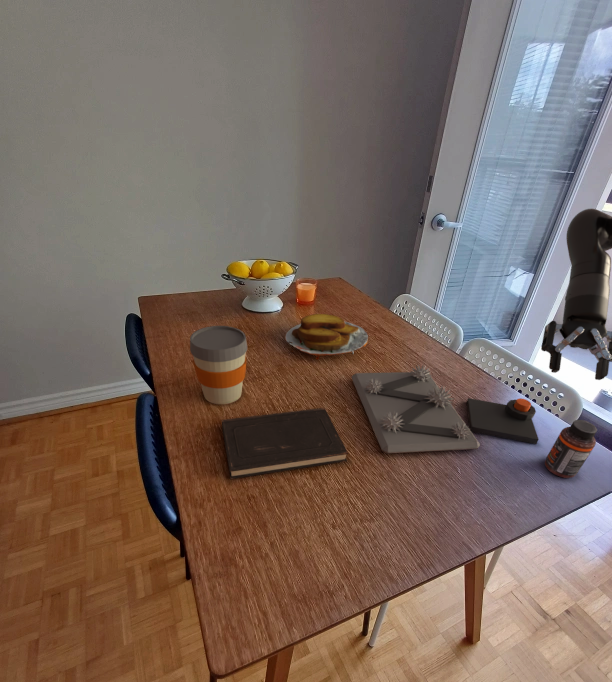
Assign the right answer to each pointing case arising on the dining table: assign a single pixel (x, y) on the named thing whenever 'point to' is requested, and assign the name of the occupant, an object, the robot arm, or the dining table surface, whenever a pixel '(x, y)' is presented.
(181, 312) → the dining table surface
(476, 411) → the kitchen scale
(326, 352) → the food on plate
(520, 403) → the button
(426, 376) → the grey spiked board
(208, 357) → the reusable coffee cup
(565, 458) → the supplement bottle
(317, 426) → the hardcover book
